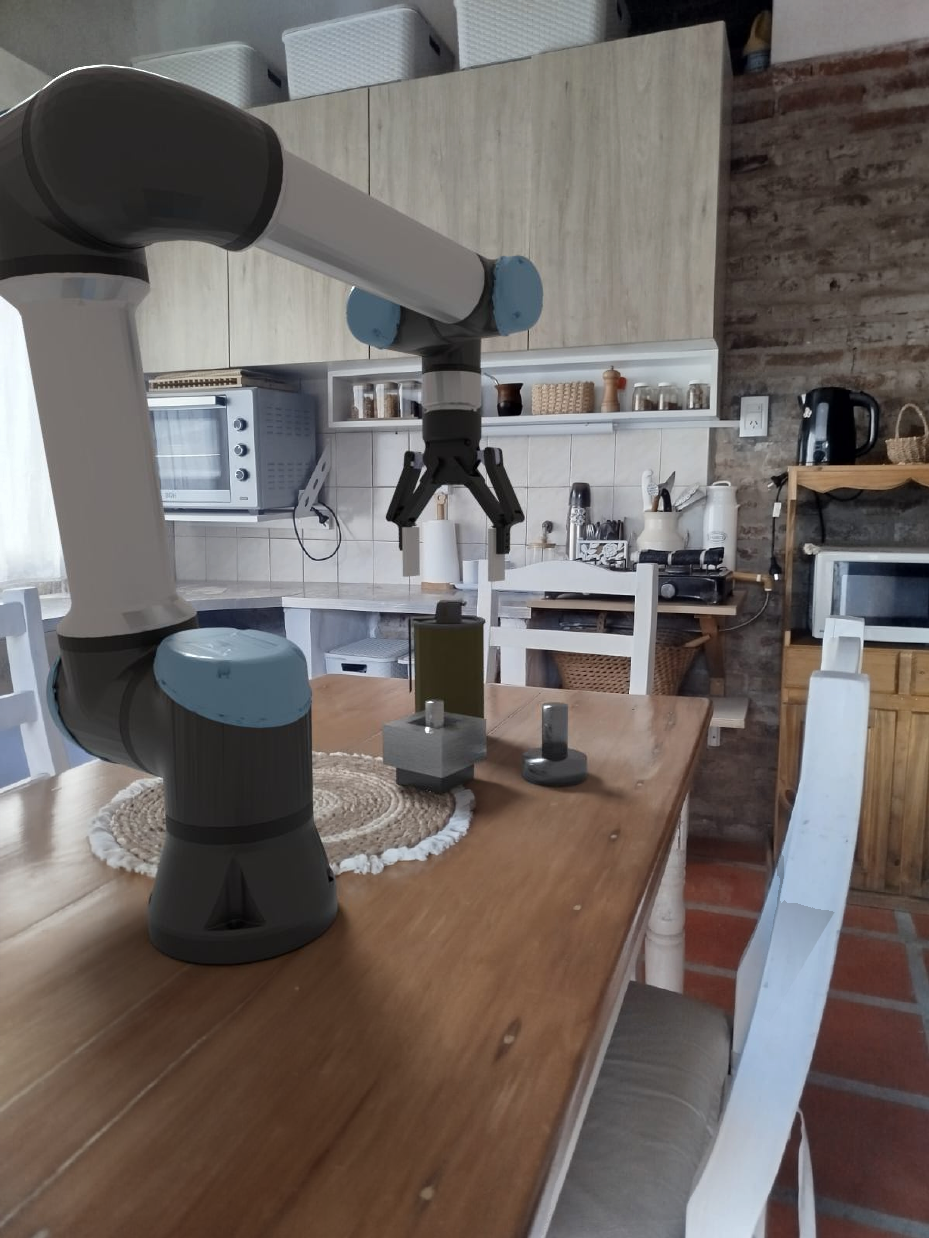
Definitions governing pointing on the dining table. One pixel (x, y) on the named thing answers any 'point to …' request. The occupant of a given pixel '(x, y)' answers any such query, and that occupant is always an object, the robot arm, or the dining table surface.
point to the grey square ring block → (434, 744)
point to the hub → (554, 752)
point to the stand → (427, 781)
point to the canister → (449, 659)
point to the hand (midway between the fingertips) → (452, 578)
